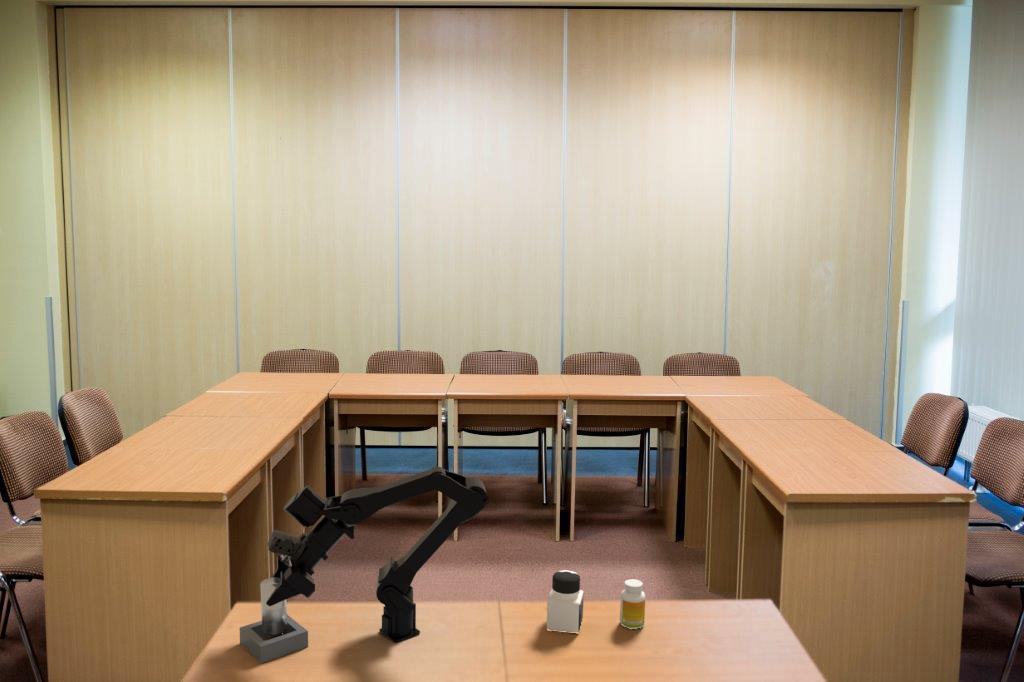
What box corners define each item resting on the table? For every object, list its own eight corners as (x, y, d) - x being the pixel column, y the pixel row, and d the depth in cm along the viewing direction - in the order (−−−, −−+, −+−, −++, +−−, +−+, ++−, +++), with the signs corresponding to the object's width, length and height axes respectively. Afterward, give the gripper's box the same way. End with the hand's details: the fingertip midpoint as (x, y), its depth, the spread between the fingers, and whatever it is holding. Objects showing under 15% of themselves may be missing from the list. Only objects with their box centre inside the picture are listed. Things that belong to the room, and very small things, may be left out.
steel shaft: (280, 620, 174) (279, 575, 173) (291, 629, 171) (290, 583, 169) (257, 627, 171) (256, 581, 170) (268, 636, 167) (266, 590, 166)
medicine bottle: (579, 635, 178) (580, 582, 176) (546, 631, 179) (547, 578, 178) (582, 620, 185) (584, 568, 183) (551, 616, 186) (552, 565, 185)
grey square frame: (285, 628, 178) (285, 613, 178) (308, 646, 171) (307, 630, 170) (239, 643, 172) (239, 627, 171) (261, 663, 164) (260, 646, 164)
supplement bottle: (648, 629, 181) (650, 587, 180) (624, 631, 180) (626, 589, 179) (638, 617, 187) (640, 576, 185) (616, 619, 185) (617, 578, 184)
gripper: (286, 503, 178) (233, 559, 175) (296, 533, 160) (238, 596, 158) (324, 533, 182) (273, 589, 179) (338, 566, 164) (282, 628, 162)
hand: (266, 599), depth 169 cm, fingers closed on steel shaft, 5 cm apart
